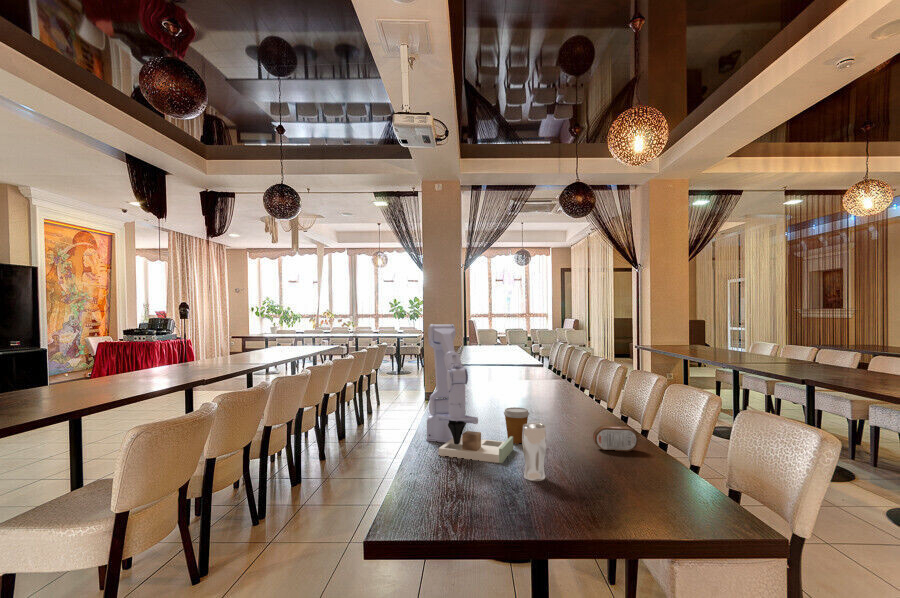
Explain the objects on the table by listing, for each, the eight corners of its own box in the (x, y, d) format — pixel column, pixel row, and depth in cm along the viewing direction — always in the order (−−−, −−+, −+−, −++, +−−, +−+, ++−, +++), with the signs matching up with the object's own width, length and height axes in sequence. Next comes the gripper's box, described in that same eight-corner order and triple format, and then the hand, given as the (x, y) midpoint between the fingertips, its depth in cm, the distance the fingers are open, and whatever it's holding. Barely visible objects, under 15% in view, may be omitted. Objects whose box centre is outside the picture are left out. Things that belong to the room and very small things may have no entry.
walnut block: (462, 449, 151) (462, 434, 151) (467, 445, 155) (467, 430, 156) (476, 451, 149) (476, 435, 149) (481, 447, 154) (481, 432, 154)
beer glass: (546, 482, 128) (546, 429, 128) (521, 480, 129) (521, 428, 129) (546, 474, 134) (546, 423, 135) (522, 472, 136) (522, 422, 136)
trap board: (438, 455, 152) (438, 442, 152) (454, 443, 167) (454, 431, 167) (502, 463, 144) (502, 449, 144) (513, 449, 159) (513, 436, 159)
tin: (636, 449, 159) (636, 425, 160) (639, 452, 156) (639, 428, 156) (593, 448, 161) (592, 424, 161) (594, 451, 158) (594, 426, 158)
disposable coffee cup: (531, 445, 164) (531, 412, 165) (505, 445, 164) (505, 412, 165) (527, 438, 174) (527, 407, 174) (502, 438, 174) (502, 407, 174)
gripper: (433, 403, 153) (433, 444, 153) (473, 407, 148) (473, 448, 148) (440, 400, 160) (440, 439, 160) (479, 403, 155) (479, 443, 154)
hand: (457, 443), depth 154 cm, fingers closed
